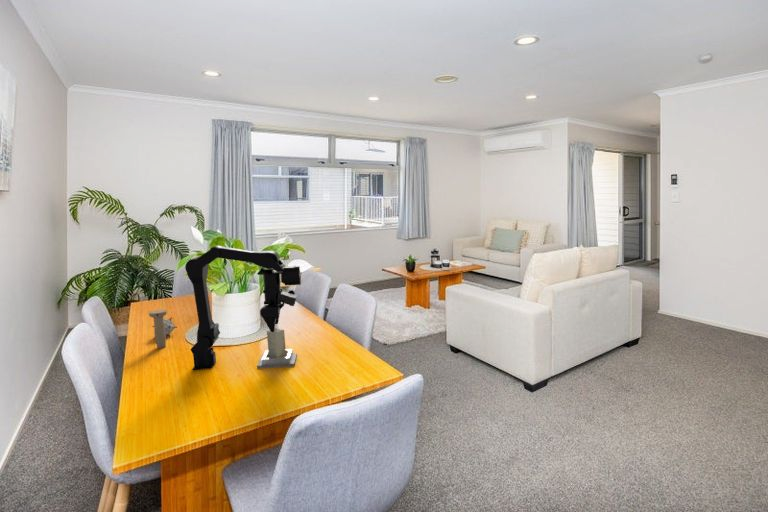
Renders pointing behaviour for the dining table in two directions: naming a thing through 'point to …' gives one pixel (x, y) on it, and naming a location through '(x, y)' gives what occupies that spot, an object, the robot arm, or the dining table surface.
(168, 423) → the dining table surface
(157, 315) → the handle
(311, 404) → the dining table surface
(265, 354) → the socket
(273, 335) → the box
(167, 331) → the grey spiky ball
